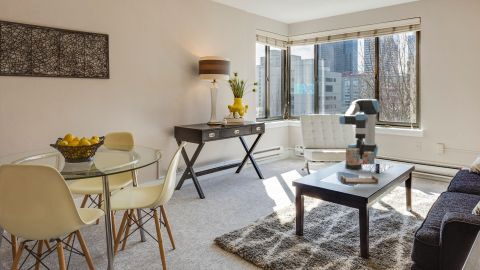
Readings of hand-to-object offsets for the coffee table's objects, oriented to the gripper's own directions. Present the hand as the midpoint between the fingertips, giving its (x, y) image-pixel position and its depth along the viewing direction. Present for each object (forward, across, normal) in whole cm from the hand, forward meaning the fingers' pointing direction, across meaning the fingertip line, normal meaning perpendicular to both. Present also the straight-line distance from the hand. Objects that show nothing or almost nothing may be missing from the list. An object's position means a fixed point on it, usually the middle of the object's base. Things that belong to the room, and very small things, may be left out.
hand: (359, 162), depth 269 cm
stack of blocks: (+2, 0, 0) cm, 2 cm away
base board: (+16, 0, 0) cm, 16 cm away
